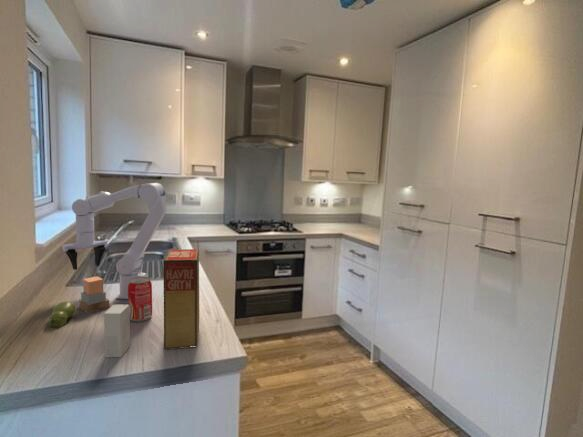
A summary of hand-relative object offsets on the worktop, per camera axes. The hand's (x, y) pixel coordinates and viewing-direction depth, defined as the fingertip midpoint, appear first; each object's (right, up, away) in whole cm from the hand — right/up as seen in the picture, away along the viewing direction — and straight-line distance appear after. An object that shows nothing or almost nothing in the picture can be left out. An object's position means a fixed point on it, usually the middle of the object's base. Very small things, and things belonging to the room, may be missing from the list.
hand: (86, 267), depth 128 cm
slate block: (+9, -10, -11) cm, 17 cm away
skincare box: (+30, -17, -37) cm, 51 cm away
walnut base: (+9, -13, -10) cm, 18 cm away
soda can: (+27, -14, -17) cm, 35 cm away
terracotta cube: (+9, -7, -11) cm, 16 cm away
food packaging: (+45, -17, -28) cm, 55 cm away
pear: (+5, -14, -21) cm, 26 cm away
